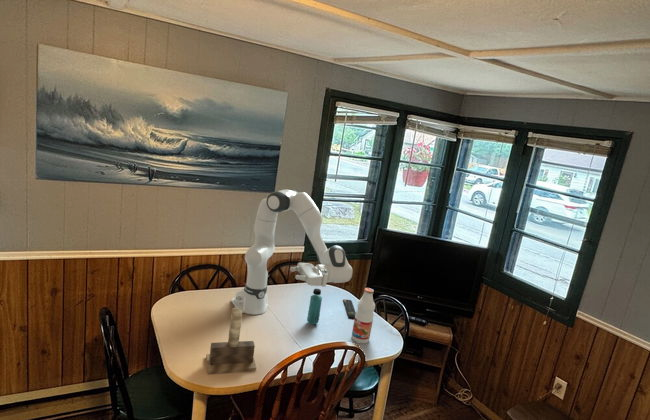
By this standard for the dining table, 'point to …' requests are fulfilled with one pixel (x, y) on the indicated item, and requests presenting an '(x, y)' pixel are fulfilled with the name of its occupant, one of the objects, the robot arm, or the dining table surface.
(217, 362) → the fulcrum ridge
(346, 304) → the remote control
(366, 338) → the fruit juice
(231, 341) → the maple dowel
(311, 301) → the beverage bottle
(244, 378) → the dining table surface
